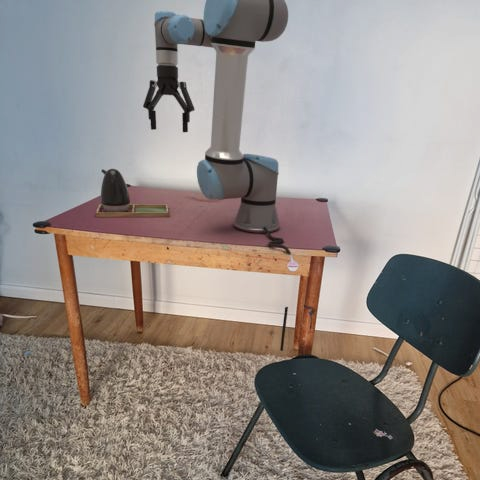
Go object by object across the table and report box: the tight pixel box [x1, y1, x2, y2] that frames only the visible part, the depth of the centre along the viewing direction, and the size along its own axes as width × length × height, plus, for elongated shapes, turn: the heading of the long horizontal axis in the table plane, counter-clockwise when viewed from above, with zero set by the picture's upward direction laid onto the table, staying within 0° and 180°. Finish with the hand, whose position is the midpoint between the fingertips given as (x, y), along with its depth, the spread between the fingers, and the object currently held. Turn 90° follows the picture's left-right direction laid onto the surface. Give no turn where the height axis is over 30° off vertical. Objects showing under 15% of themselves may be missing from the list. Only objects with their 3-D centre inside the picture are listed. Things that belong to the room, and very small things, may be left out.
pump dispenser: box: [100, 168, 131, 212], centre depth 149 cm, size 10×10×15 cm
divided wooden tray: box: [95, 203, 170, 218], centre depth 153 cm, size 13×25×2 cm, turn 100°
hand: (169, 130), depth 159 cm, fingers open, 13 cm apart
